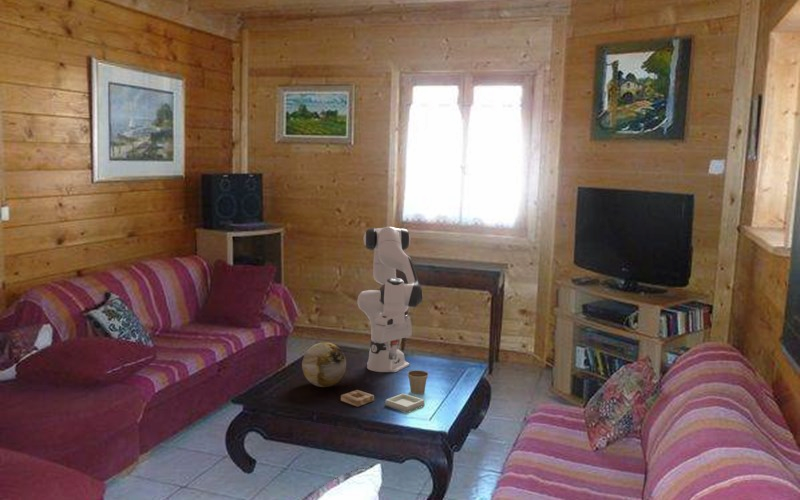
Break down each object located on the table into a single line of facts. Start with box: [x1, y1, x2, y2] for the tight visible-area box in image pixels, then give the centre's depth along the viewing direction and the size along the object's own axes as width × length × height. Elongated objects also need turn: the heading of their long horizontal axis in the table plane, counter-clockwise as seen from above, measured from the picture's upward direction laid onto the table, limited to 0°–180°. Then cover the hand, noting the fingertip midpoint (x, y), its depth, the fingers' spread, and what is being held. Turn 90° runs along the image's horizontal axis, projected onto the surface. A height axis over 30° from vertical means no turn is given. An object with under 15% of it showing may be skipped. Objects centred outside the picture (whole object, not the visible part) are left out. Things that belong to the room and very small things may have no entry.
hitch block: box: [340, 389, 375, 407], centre depth 289 cm, size 10×10×2 cm
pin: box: [388, 340, 398, 360], centre depth 283 cm, size 4×4×8 cm
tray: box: [384, 393, 425, 413], centre depth 285 cm, size 12×12×2 cm
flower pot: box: [407, 369, 429, 395], centre depth 302 cm, size 9×9×9 cm
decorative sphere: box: [301, 341, 347, 388], centre depth 305 cm, size 20×20×20 cm
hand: (392, 350), depth 283 cm, fingers closed on pin, 3 cm apart
